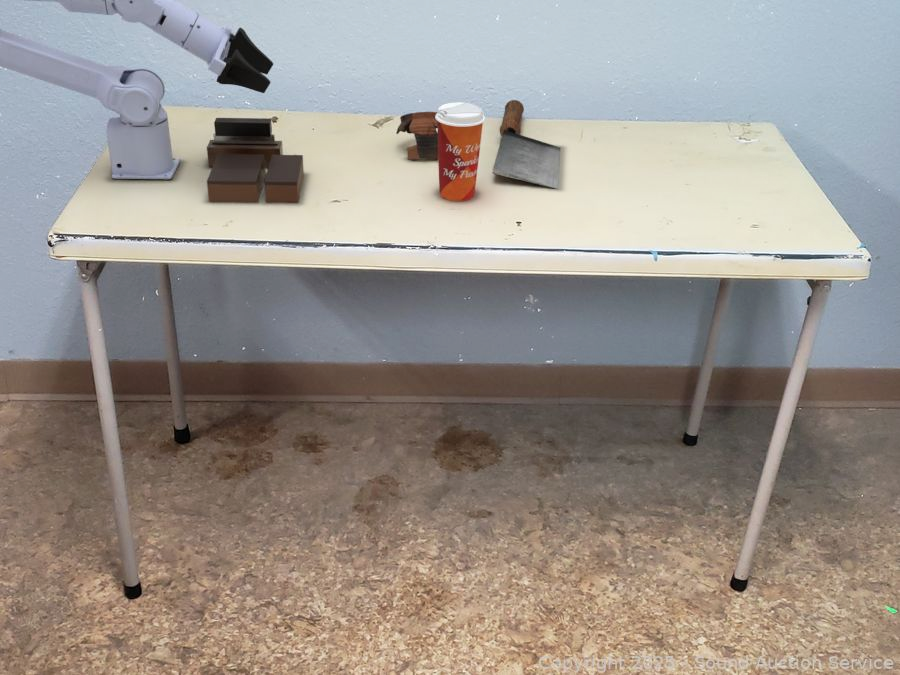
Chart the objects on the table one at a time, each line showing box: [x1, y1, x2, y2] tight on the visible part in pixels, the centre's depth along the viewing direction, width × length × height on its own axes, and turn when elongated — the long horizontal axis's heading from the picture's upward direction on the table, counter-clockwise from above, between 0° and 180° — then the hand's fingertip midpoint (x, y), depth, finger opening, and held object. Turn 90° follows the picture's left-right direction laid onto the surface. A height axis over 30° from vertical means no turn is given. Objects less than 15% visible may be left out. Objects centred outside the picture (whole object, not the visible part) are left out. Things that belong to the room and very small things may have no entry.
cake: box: [206, 154, 267, 203], centre depth 151 cm, size 8×11×4 cm
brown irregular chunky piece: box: [395, 111, 438, 160], centre depth 167 cm, size 12×10×8 cm
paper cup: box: [435, 102, 486, 202], centre depth 149 cm, size 8×8×14 cm
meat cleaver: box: [491, 99, 562, 190], centre depth 170 cm, size 34×11×4 cm, turn 174°
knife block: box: [206, 139, 284, 169], centre depth 160 cm, size 12×4×4 cm, turn 93°
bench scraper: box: [212, 117, 276, 146], centre depth 159 cm, size 10×2×8 cm, turn 93°
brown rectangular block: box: [263, 154, 305, 204], centre depth 152 cm, size 5×11×4 cm, turn 3°
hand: (268, 78), depth 151 cm, fingers open, 7 cm apart
